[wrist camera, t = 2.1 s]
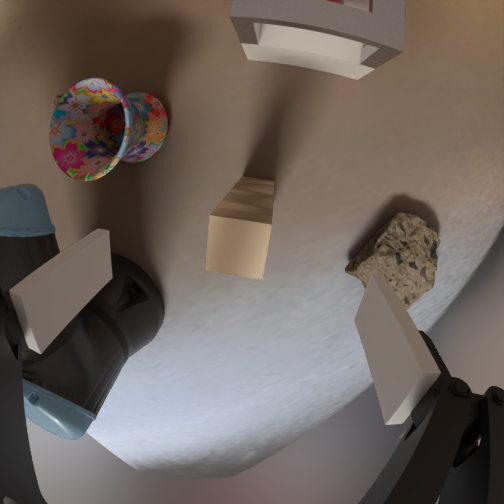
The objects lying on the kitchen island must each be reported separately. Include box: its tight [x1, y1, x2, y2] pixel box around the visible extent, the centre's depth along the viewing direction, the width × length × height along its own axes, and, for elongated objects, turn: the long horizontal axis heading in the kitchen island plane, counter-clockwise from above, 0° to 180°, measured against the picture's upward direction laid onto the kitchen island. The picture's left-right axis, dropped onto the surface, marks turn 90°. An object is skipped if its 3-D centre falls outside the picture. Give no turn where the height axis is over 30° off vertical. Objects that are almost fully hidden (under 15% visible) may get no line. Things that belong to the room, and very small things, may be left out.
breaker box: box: [241, 0, 374, 80], centre depth 20 cm, size 12×12×6 cm
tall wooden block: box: [205, 176, 274, 280], centre depth 24 cm, size 4×4×16 cm
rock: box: [345, 212, 440, 310], centre depth 31 cm, size 11×12×4 cm
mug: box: [50, 78, 168, 181], centre depth 24 cm, size 12×9×11 cm
